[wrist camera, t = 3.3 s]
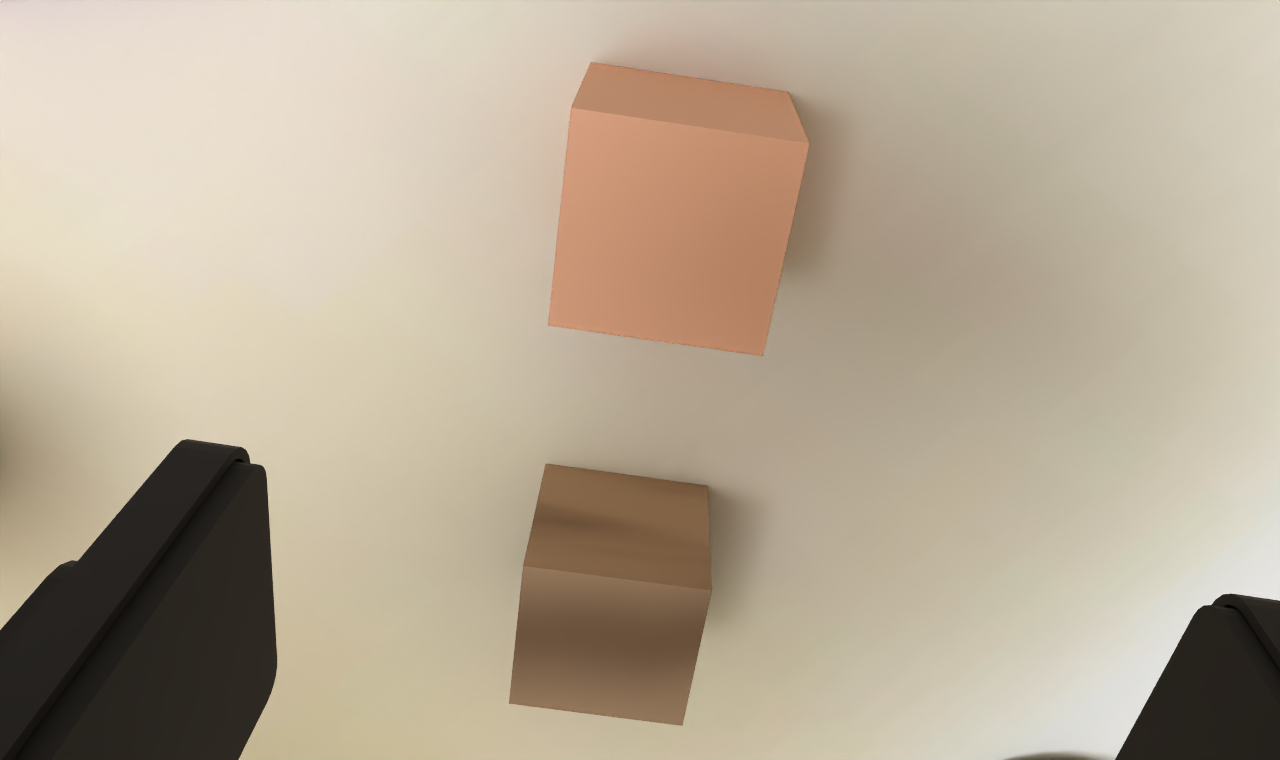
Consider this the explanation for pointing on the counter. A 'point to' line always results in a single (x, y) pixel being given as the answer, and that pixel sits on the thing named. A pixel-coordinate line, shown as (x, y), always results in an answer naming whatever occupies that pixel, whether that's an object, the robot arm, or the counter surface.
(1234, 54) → the counter surface
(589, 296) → the terracotta block
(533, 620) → the walnut block
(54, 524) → the counter surface
